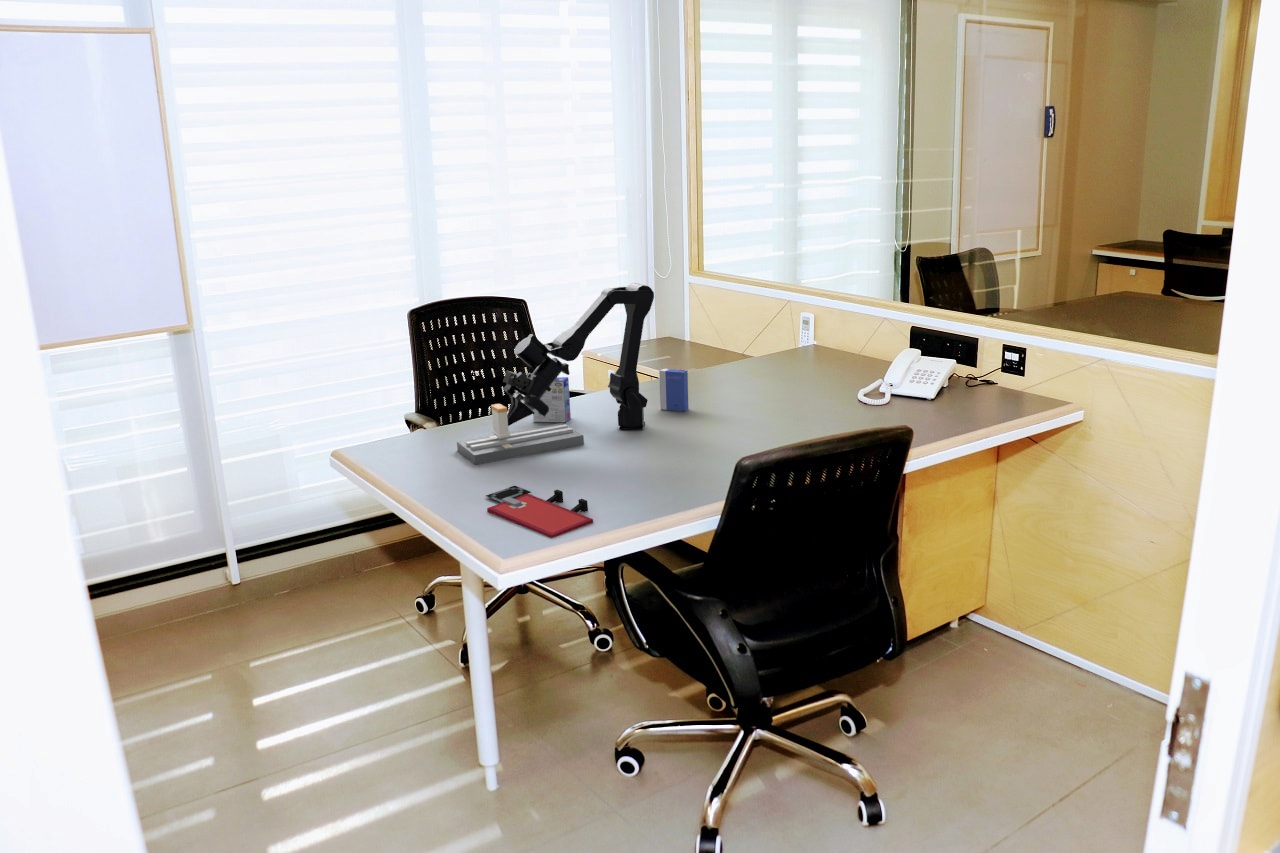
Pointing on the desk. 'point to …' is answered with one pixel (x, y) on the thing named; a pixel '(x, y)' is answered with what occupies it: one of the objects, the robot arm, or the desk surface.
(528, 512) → the red board with handle
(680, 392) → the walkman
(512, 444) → the fader console
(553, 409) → the ink cartridge box
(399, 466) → the desk surface
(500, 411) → the fader lever
